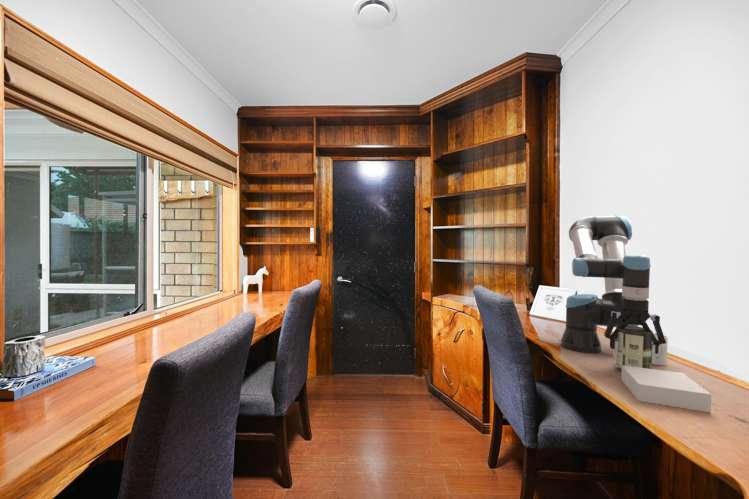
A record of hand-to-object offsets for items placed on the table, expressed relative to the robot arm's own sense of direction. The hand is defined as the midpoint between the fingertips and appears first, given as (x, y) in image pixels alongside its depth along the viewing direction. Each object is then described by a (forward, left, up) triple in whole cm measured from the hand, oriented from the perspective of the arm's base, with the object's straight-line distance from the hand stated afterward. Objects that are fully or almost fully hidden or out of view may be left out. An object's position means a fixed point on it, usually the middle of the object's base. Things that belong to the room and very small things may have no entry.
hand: (633, 360), depth 117 cm
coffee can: (0, 0, -3) cm, 3 cm away
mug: (-14, +11, -4) cm, 18 cm away
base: (+18, +2, -4) cm, 19 cm away
